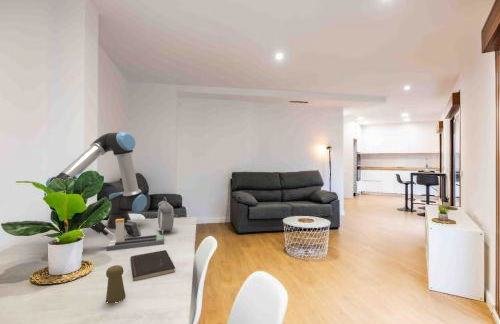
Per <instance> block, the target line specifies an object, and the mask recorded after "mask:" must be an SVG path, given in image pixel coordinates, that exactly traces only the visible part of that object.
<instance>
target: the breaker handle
mask: <svg viewBox="0 0 500 324" xmlns="http://www.w3.org/2000/svg"><path fill="white" fill-rule="evenodd" d="M115 223H116V228H115V240H116V242H124V241H125V235H126V234H125V227H124V218H123V219H116V220H115Z"/></svg>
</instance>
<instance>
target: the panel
mask: <svg viewBox="0 0 500 324" xmlns="http://www.w3.org/2000/svg"><path fill="white" fill-rule="evenodd" d="M156 245H157V246H159V245H165V235H164V234H161V235H157V234H152V235H143V236H141V235H140V236H136V237H133V236H131V237H126V238H125V241H124V242H116V239H115V240H110V241H109V242H108V243H107V245H106V247H105V251H106V252H109V251H116V250H126V249H134V248H135V249H136V248H143V247H150V246H151V247H153V246H156Z"/></svg>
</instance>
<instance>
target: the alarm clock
mask: <svg viewBox="0 0 500 324" xmlns="http://www.w3.org/2000/svg"><path fill="white" fill-rule="evenodd" d="M157 208H158V210H157V229H158V231H159V232H160V231H161V235H164V232H165V231H169V232H170V231H172V230H173V227H174V222H175V221H174V216H175V215H174V214H175V213H174V211H175V210H174V207H173V205H171V204H170V203H169V202H168V201H167V198H166V197H165V196H163V199H162V201H159V202H158V204H157Z"/></svg>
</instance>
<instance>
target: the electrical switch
mask: <svg viewBox="0 0 500 324" xmlns="http://www.w3.org/2000/svg"><path fill="white" fill-rule="evenodd" d="M124 226H125V227H124V230H125V232H126V235H128V236H130V237H141V235H142V234H141V232H142V231H141V230H140V227H139V223H138V222H137V221H135V220H127V222H126V223H125V224H124Z"/></svg>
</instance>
